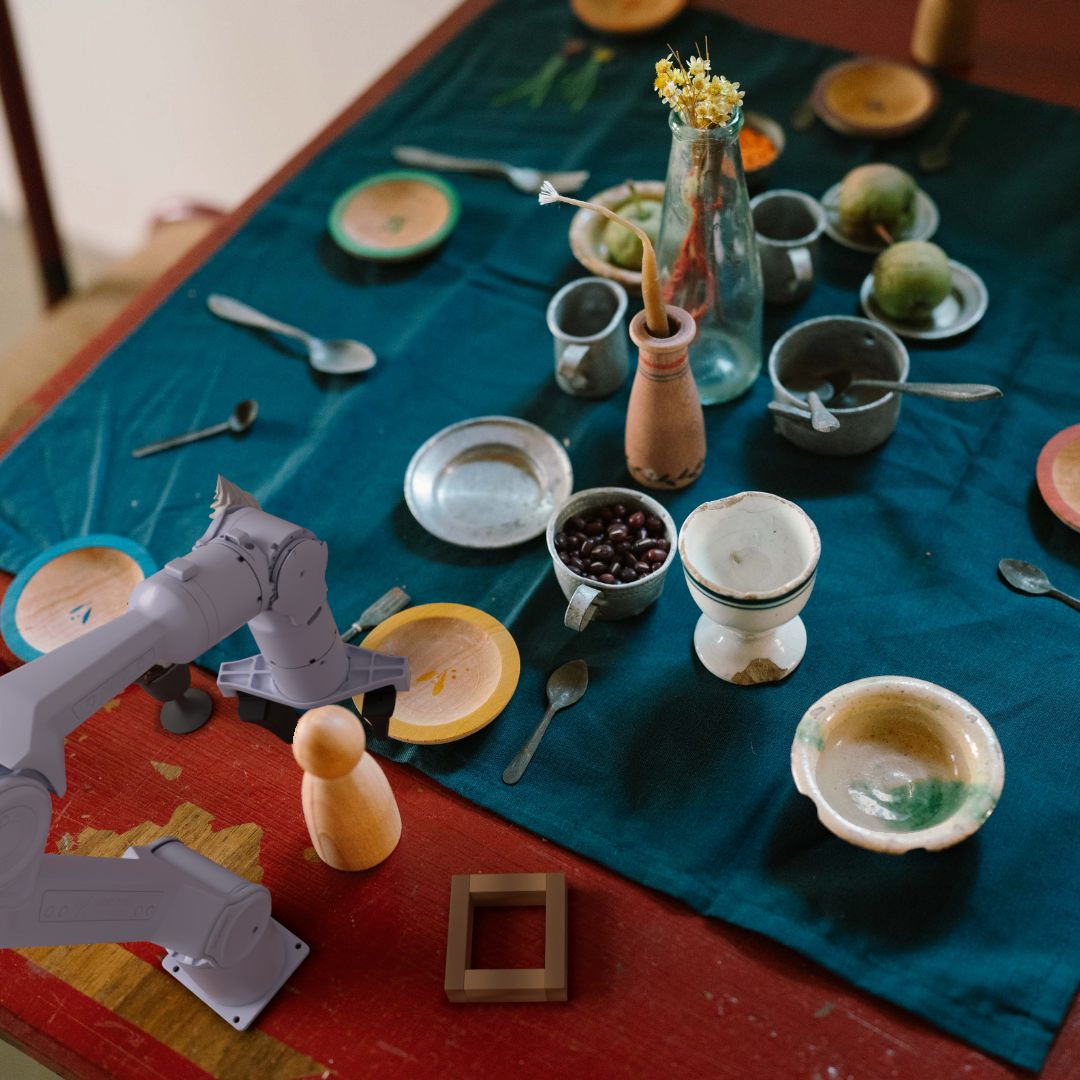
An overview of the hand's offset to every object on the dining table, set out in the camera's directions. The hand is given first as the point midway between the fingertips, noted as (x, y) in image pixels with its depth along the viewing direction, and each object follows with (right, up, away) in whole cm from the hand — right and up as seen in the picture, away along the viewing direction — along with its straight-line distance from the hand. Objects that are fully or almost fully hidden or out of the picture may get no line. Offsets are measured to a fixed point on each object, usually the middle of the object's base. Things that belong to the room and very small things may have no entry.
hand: (338, 732), depth 95 cm
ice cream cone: (-12, +12, +25) cm, 31 cm away
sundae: (-17, -1, +15) cm, 23 cm away
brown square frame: (+14, -17, -2) cm, 22 cm away
